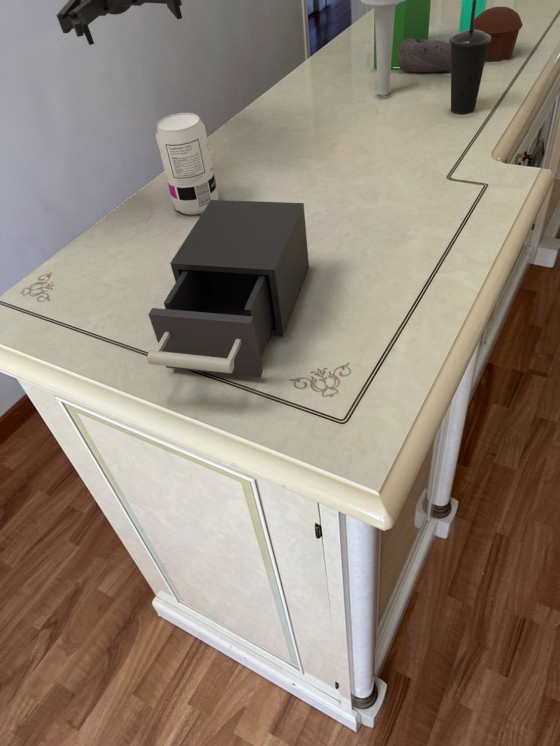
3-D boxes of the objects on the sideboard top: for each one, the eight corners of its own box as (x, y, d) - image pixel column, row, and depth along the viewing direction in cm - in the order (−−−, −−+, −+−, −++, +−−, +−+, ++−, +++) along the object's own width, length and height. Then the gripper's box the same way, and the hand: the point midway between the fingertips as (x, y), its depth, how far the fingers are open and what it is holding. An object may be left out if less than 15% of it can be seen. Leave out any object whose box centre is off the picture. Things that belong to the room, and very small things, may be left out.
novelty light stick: (356, 102, 132) (355, -31, 114) (366, 85, 138) (366, -43, 120) (401, 102, 129) (407, -33, 111) (409, 85, 135) (415, -45, 118)
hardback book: (400, 44, 156) (404, -67, 139) (427, 46, 153) (435, -68, 136) (373, 68, 145) (375, -49, 129) (402, 70, 142) (407, -50, 125)
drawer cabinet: (283, 336, 78) (274, 269, 71) (188, 327, 82) (169, 263, 74) (309, 267, 89) (303, 202, 81) (223, 262, 92) (210, 199, 85)
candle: (472, 44, 150) (479, -10, 142) (453, 40, 153) (458, -13, 145) (486, 37, 153) (493, -17, 144) (466, 34, 156) (472, -19, 147)
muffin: (508, 45, 147) (516, -1, 140) (524, 59, 139) (533, 11, 132) (461, 51, 147) (466, 6, 140) (474, 66, 139) (480, 18, 132)
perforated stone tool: (463, 68, 139) (467, 35, 134) (460, 76, 136) (463, 43, 131) (400, 67, 144) (401, 35, 139) (395, 75, 141) (396, 43, 136)
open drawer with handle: (248, 408, 69) (236, 353, 62) (151, 396, 72) (130, 342, 66) (288, 304, 82) (282, 249, 75) (204, 297, 85) (191, 244, 79)
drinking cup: (436, 109, 124) (444, 1, 110) (465, 99, 126) (477, -9, 112) (459, 120, 119) (472, 8, 105) (489, 110, 121) (505, -2, 107)
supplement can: (165, 210, 106) (143, 128, 95) (194, 189, 110) (176, 108, 100) (199, 220, 102) (180, 135, 92) (228, 198, 107) (213, 114, 96)
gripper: (184, -11, 104) (219, 25, 90) (46, 28, 100) (61, 72, 87) (173, -62, 98) (207, -31, 85) (26, -23, 95) (38, 16, 81)
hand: (133, 21), depth 86 cm, fingers open, 13 cm apart
